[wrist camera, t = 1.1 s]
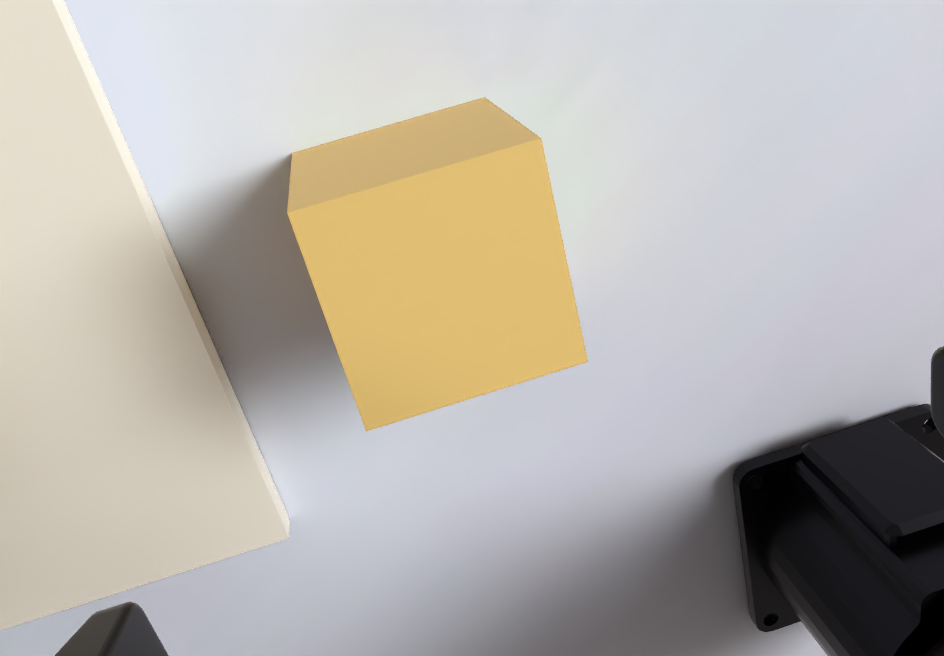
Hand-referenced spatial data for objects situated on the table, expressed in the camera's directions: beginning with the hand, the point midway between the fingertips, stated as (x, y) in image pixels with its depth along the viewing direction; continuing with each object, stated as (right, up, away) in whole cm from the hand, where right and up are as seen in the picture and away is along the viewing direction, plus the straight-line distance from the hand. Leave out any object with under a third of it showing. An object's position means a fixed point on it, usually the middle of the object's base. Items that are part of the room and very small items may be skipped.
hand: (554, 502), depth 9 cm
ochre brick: (-2, +5, +10) cm, 12 cm away
